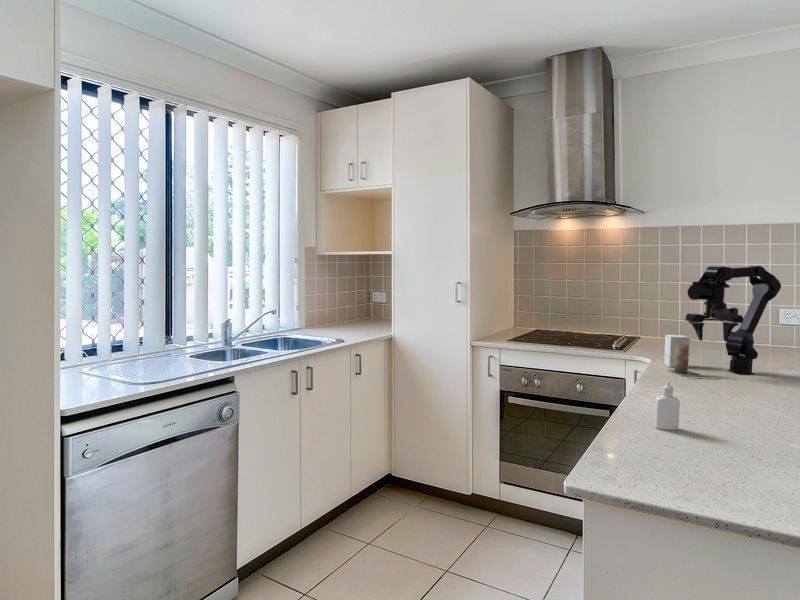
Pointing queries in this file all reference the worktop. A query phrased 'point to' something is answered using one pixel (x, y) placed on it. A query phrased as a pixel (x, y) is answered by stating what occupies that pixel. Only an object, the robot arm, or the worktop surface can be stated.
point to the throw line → (702, 377)
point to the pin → (681, 358)
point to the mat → (688, 373)
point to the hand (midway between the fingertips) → (712, 340)
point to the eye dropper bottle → (666, 410)
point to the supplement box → (673, 348)
